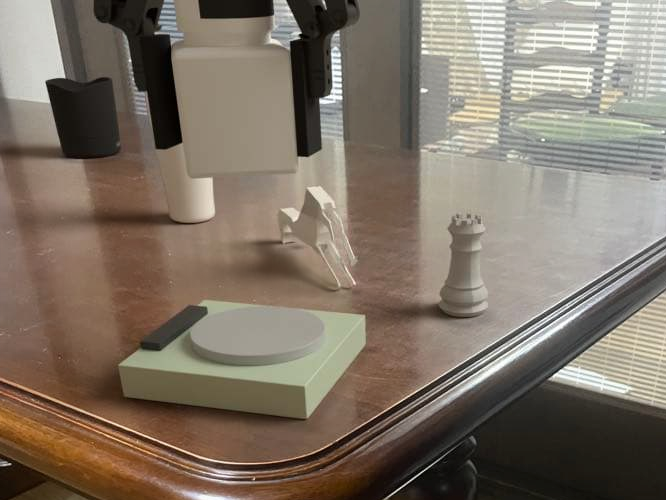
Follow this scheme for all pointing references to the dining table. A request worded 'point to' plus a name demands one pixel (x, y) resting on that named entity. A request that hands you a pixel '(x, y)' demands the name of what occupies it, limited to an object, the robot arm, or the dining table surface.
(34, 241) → the dining table surface
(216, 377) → the scale
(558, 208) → the dining table surface
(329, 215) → the white angular pronged piece
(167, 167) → the drinking glass
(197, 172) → the medicine bottle
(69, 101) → the pen holder
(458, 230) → the rook chess piece
